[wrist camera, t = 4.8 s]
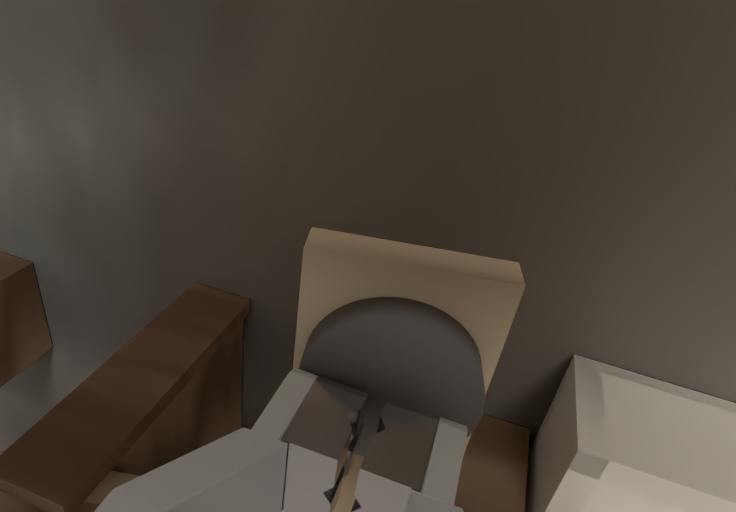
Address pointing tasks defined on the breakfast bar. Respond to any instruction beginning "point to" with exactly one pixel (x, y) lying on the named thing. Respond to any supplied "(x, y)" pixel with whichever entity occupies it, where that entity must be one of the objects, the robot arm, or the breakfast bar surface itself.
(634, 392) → the dish
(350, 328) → the lever
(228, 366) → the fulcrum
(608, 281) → the breakfast bar surface
